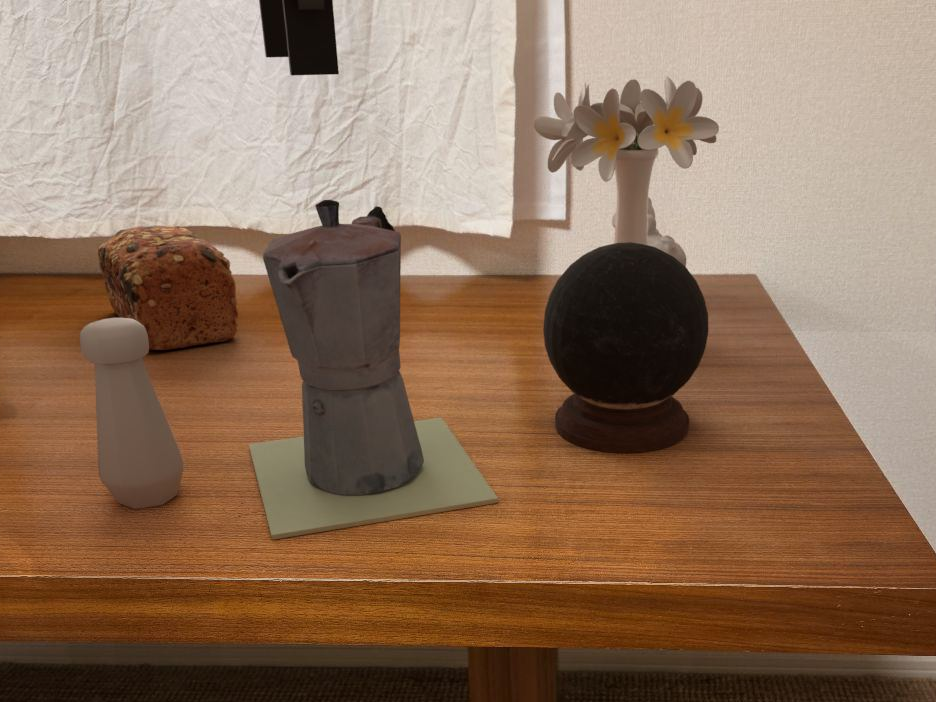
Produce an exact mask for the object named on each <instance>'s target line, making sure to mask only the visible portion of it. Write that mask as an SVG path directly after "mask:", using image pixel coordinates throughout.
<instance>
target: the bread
mask: <svg viewBox="0 0 936 702" xmlns="http://www.w3.org/2000/svg"><path fill="white" fill-rule="evenodd" d="M97 251H98V252H97V257H98V266H99V270H100V271H101V274H102V277H103V286H104V289H105V291H106V294H107V296H108V299H109V304H110V305H111V308H112V309H113V311H114V313H115V314H116V315H117V318H129V319H134V320H136V321H138V322H139V323H141V324H142V325H144V327H145V330H146V332H147V335H148V342H149V351H169V350H174V349H182V348H187V347H193V346H200V345H207V344H208V345H209V344H213V343H221V342H222V343H223V342H227V341H229V340H231V339H233V338H234V337H235V336H236V334H237V332H238V326H239V324H238V320H237V318H238V317H239V310H238V307H237V305H238V300H237V287H236V280H235V277H234V275H232V273H233V272H232V270H231V262H230V260H229V259H228V258H227V257H225V256H224V255H225V254H224V252H222V251H220V250H218V249H217V248H216V247H215V246H213V245H212V244H211V243H209V242H207V240H205V239H203V238H202V237H200V236H199V235H197V234H195V233H194V232H192V231H191V230H190V229H187V228H185V227H182V226H179V225H172V226H171V225H170V226H169V225H168V226H167V225H156V224H155V225H151V226H134V227H131V228H125V229H120V230H119V231H117V232H115V235H113V236H112V237H111V238H109V239H108V240H107V241H105V242H103V243H101V244H100V245H99V247H98V250H97Z"/></svg>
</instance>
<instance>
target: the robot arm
mask: <svg viewBox="0 0 936 702" xmlns="http://www.w3.org/2000/svg"><path fill="white" fill-rule="evenodd" d="M333 1H334V0H258V3H259V11H260V13H259V14H260V20H261V29H262V38H263V45H264V55H265V58H288V66H289V75H290V76H316V75H318V76H323V75H330V76H331V75H339V74H340V71H339V60H338V48H337V38H336V37H337V36H336V26H335V25H336V24H335V13H334V2H333Z"/></svg>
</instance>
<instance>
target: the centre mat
mask: <svg viewBox="0 0 936 702" xmlns="http://www.w3.org/2000/svg"><path fill="white" fill-rule="evenodd" d="M414 423H415V427H416V431H417V434H418V438H419V442H420V445H421V449H422V453H423V458H424V462H423V465H422V468H421V469H420V470H419V471H418V473H417V474H416V475H415V476H414V478H413V479H411V480H410V481H408V482H406V483H403V484H402V485H401V486H398V487H396V488H393V489H390V490H387V491H384V492H379V493H374V494H366V495H340V494H334V493H330V492H326V491H323V490H321V489H319V488H317V487H315V486H314V485H312V484H311V483H310V482H309V480H308V476H307V474H306V469H305V456H304V435H303V436H296V437H289V438H281V439H275V440H265V441H259V442H251V443H248V449H249V453H250V457H251V461H252V465H253V468H254V473H255V477H256V481H257V485H258V489H259V493H260V497H261V501H262V506H263V509H264V513H265V517H266V523H267V525H268V530H269V533H270V538H271V540H273V541H274V540H280V539H287V538H292V537H298V536H305V535H310V534H316V533H322V532H323V533H324V532H328V531H329V532H330V531H335V530H340V529H348V528H353V527H360V526H366V525H372V524H379V523H383V522H390V521H396V520H401V519H407V518H415V517H422V516H426V515H432V514H439V513H444V512H445V513H446V512H452V511H457V510H462V509H470V508H475V507H479V506H481V507H482V506H486V505H493V504H498V503H499V497H498V496H497V495H496V492H494V490H493V488H492V487H491V486H490V485H489V483H488V481H487V480H486V479H485V477H484V476H483V474H482V473H481V471H480V470H479V469H478V467H477V466H476V464H475V462H474V461H473V460H472V458H470V456H469V454H468V453H467V451H466V450H465V448H464V447H463V445H461V443H460V442H459V440H458V438H457V437H456V436H455V434H454V433H453V431H452V430H451V428H450V427H449V426H448V424H447V423H446V422H445V420H444V418H443V417H436V418H435V417H434V418H428V419H420V420H414Z"/></svg>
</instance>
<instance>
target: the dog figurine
mask: <svg viewBox="0 0 936 702" xmlns="http://www.w3.org/2000/svg"><path fill="white" fill-rule="evenodd" d="M615 224H616V212H614V214H613V215H612V218H611V225H612V227H613V228H614V229H615ZM647 243H648V245H649V246H653V247H656V248H658V249H660V250H662V251H664V252H665V253H667V254H669V255H671V256H673V257H675V258H676V259H677V260H678V261H679V262H681V263H682V264H683V265H684V266H685V267H686V268H687V255H686V253H685V251H684V248H682V246H681V245H680V244H679V243H678V242H676V239H674V238H673V237H672V236H671V235H662V233H660V230H658V229H657V220H656V212H655V209H654V206H653V201H652V199H651V198H650V197H649V196H648V212H647Z"/></svg>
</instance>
